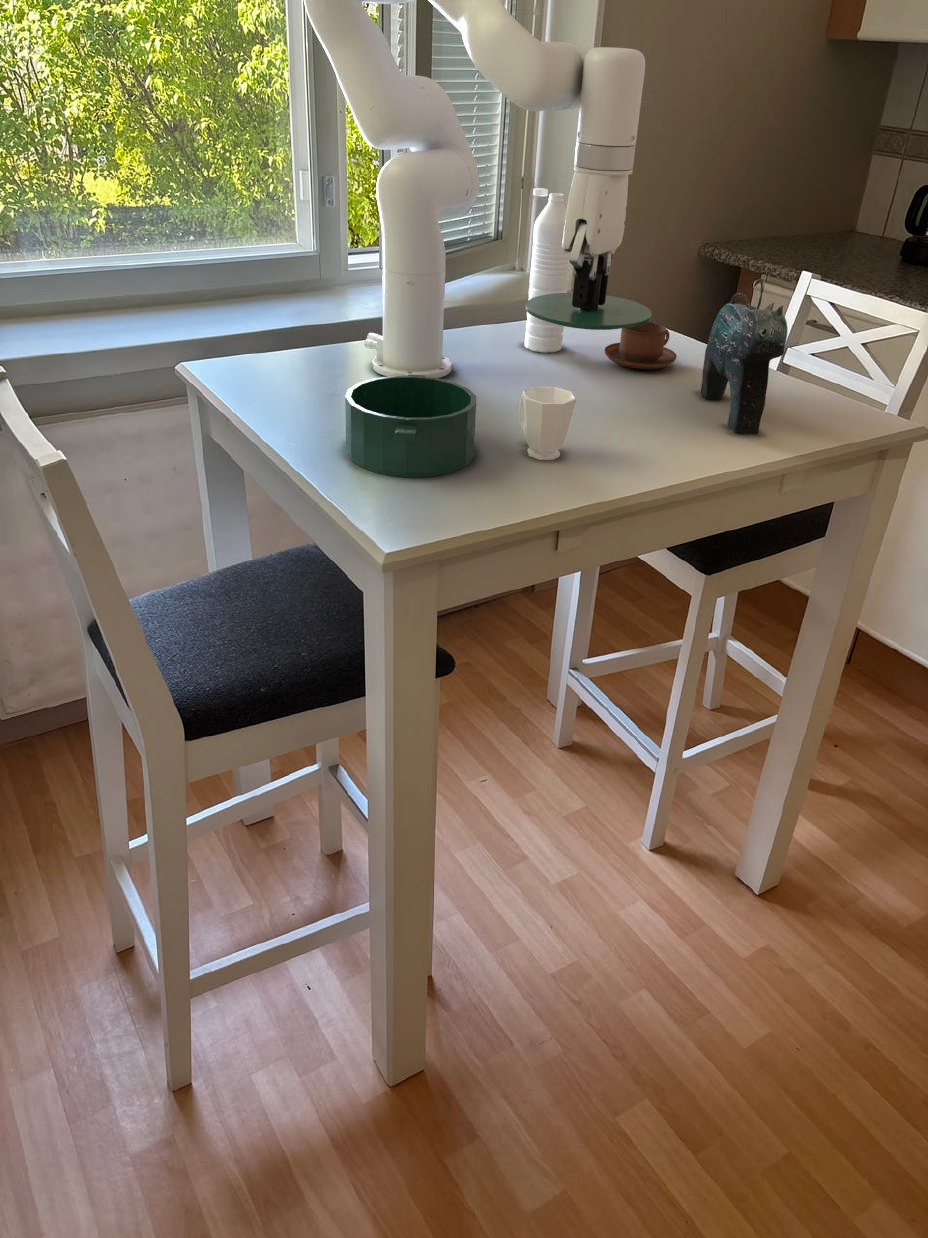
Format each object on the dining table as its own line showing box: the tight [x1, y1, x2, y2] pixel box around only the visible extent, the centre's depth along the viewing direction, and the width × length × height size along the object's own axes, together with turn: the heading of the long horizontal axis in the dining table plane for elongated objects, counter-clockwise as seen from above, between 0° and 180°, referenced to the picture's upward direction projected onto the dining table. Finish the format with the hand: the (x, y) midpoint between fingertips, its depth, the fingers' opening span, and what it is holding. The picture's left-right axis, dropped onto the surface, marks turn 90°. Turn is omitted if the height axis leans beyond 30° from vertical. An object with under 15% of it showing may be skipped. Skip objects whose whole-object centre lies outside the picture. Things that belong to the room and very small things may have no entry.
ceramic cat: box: [700, 278, 788, 435], centre depth 141 cm, size 20×6×20 cm, turn 5°
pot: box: [344, 374, 477, 478], centre depth 126 cm, size 16×22×8 cm
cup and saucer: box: [604, 321, 678, 370], centre depth 164 cm, size 12×12×6 cm
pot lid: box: [524, 272, 653, 331], centre depth 134 cm, size 17×17×6 cm
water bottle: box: [524, 187, 571, 354], centre depth 165 cm, size 9×6×25 cm
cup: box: [518, 386, 577, 461], centre depth 128 cm, size 7×10×8 cm
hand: (588, 304), depth 135 cm, fingers closed on pot lid, 2 cm apart
